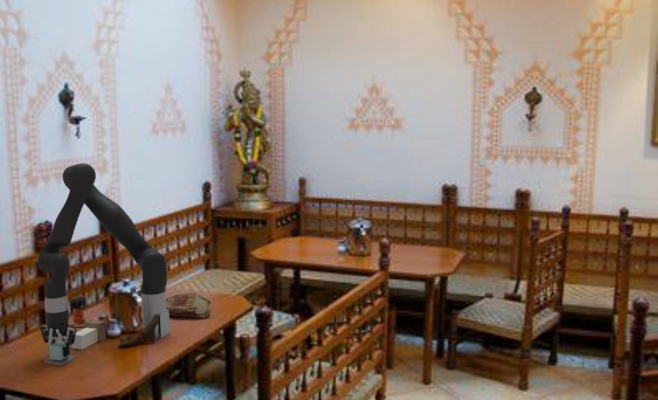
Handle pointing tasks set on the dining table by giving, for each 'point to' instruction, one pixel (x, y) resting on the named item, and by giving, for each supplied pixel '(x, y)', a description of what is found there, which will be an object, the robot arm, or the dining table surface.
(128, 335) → the dark brown curved piece
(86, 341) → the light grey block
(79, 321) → the figurine
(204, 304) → the stone
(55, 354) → the pale teal block
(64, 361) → the pad
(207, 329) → the dining table surface
